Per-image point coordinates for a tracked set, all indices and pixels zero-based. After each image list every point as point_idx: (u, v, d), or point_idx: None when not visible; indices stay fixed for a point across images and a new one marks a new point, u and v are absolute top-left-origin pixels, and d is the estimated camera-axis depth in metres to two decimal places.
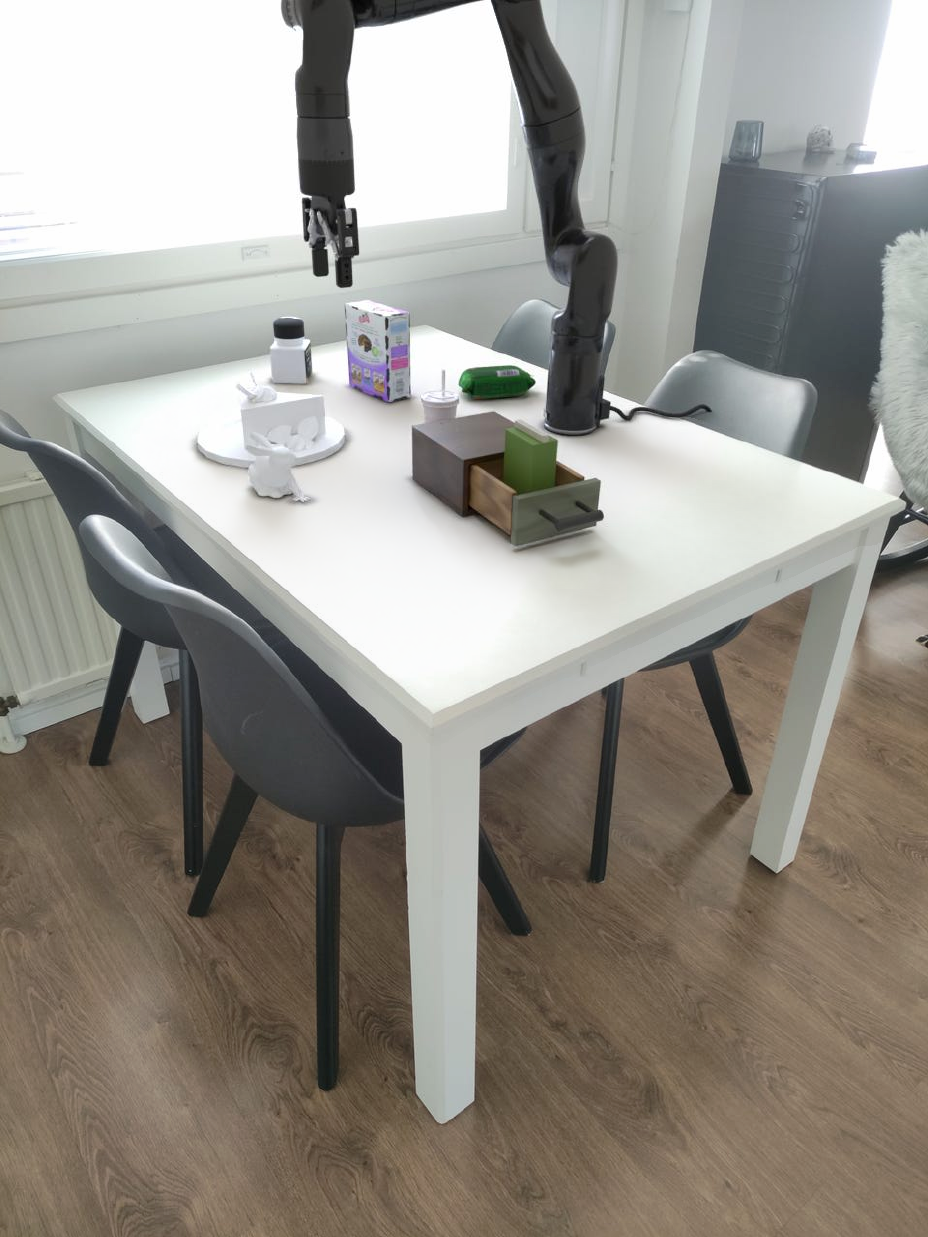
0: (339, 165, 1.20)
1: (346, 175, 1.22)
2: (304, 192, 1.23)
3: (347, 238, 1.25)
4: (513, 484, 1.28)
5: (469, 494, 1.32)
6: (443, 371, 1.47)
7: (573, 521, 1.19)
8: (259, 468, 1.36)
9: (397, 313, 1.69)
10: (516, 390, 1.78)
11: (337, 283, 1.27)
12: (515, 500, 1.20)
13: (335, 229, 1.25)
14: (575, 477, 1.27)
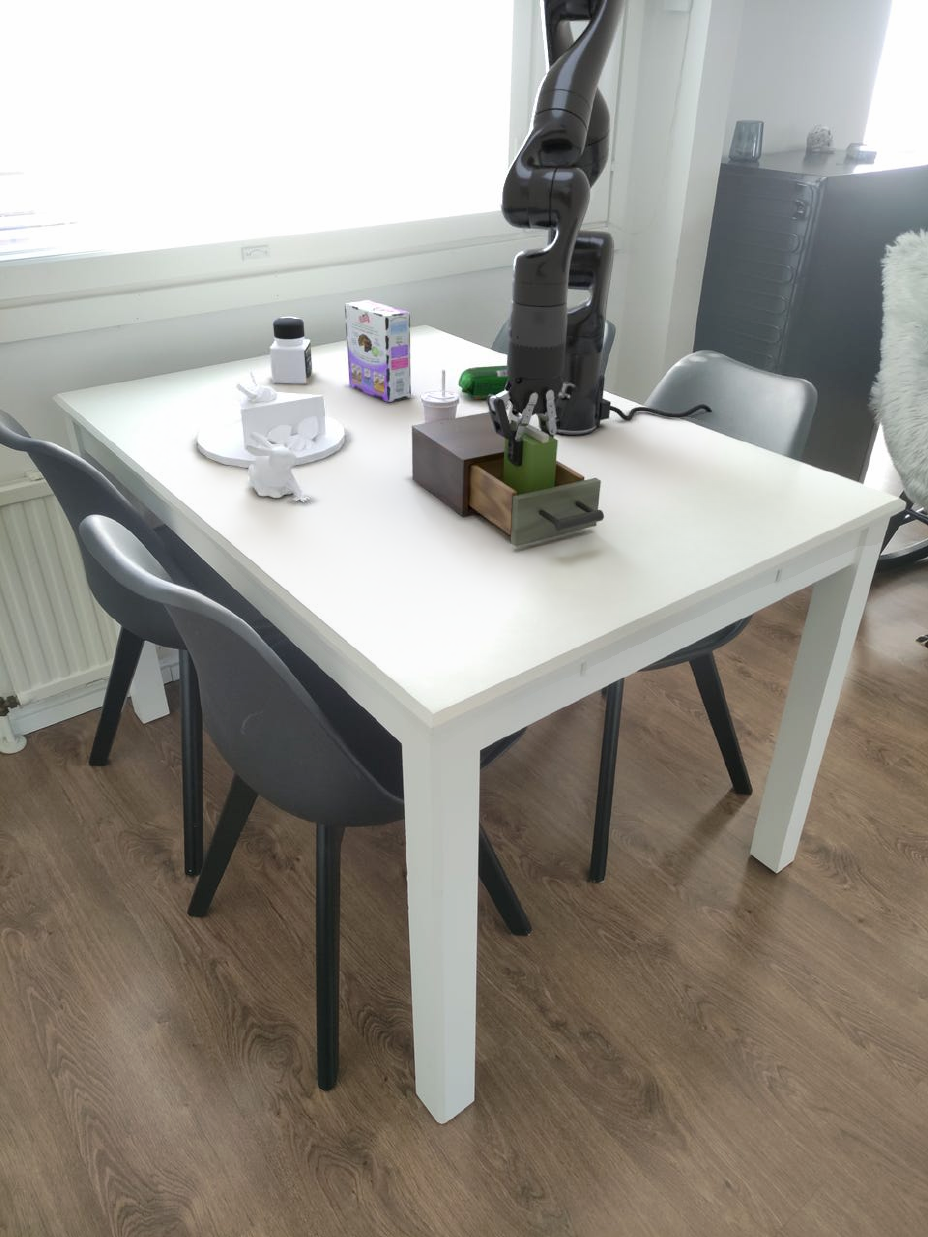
0: (514, 348, 1.17)
1: (519, 359, 1.17)
2: None
3: (518, 422, 1.22)
4: (513, 484, 1.28)
5: (469, 494, 1.32)
6: (443, 371, 1.47)
7: (573, 521, 1.19)
8: (259, 468, 1.36)
9: (397, 313, 1.69)
10: None
11: None
12: (515, 500, 1.20)
13: (514, 406, 1.22)
14: (575, 477, 1.27)
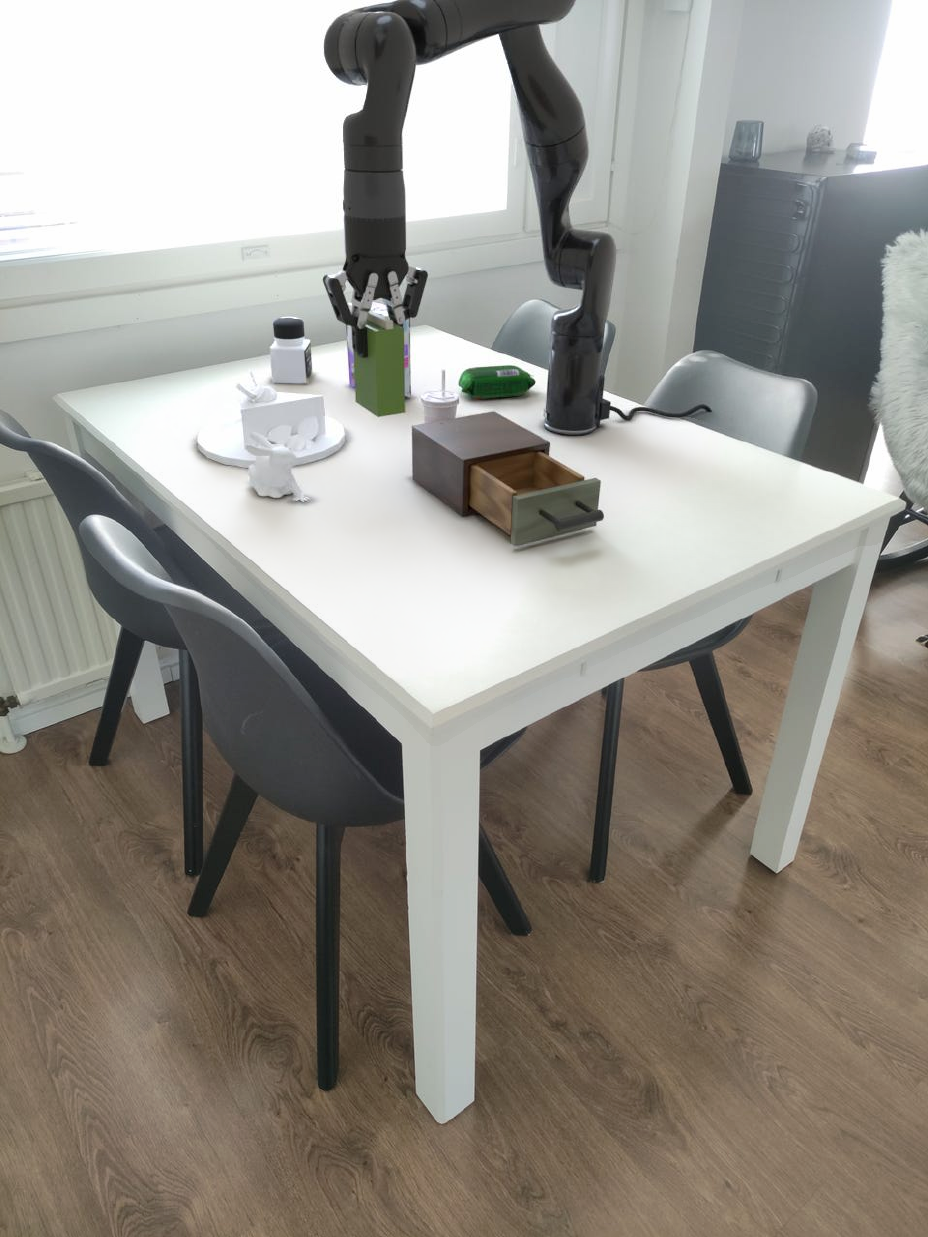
0: (347, 221, 1.08)
1: (353, 233, 1.08)
2: None
3: (359, 307, 1.13)
4: (363, 380, 1.20)
5: (469, 494, 1.32)
6: (443, 371, 1.47)
7: (573, 521, 1.19)
8: (259, 468, 1.36)
9: None
10: (516, 390, 1.78)
11: None
12: (515, 500, 1.20)
13: (354, 289, 1.13)
14: (575, 477, 1.27)
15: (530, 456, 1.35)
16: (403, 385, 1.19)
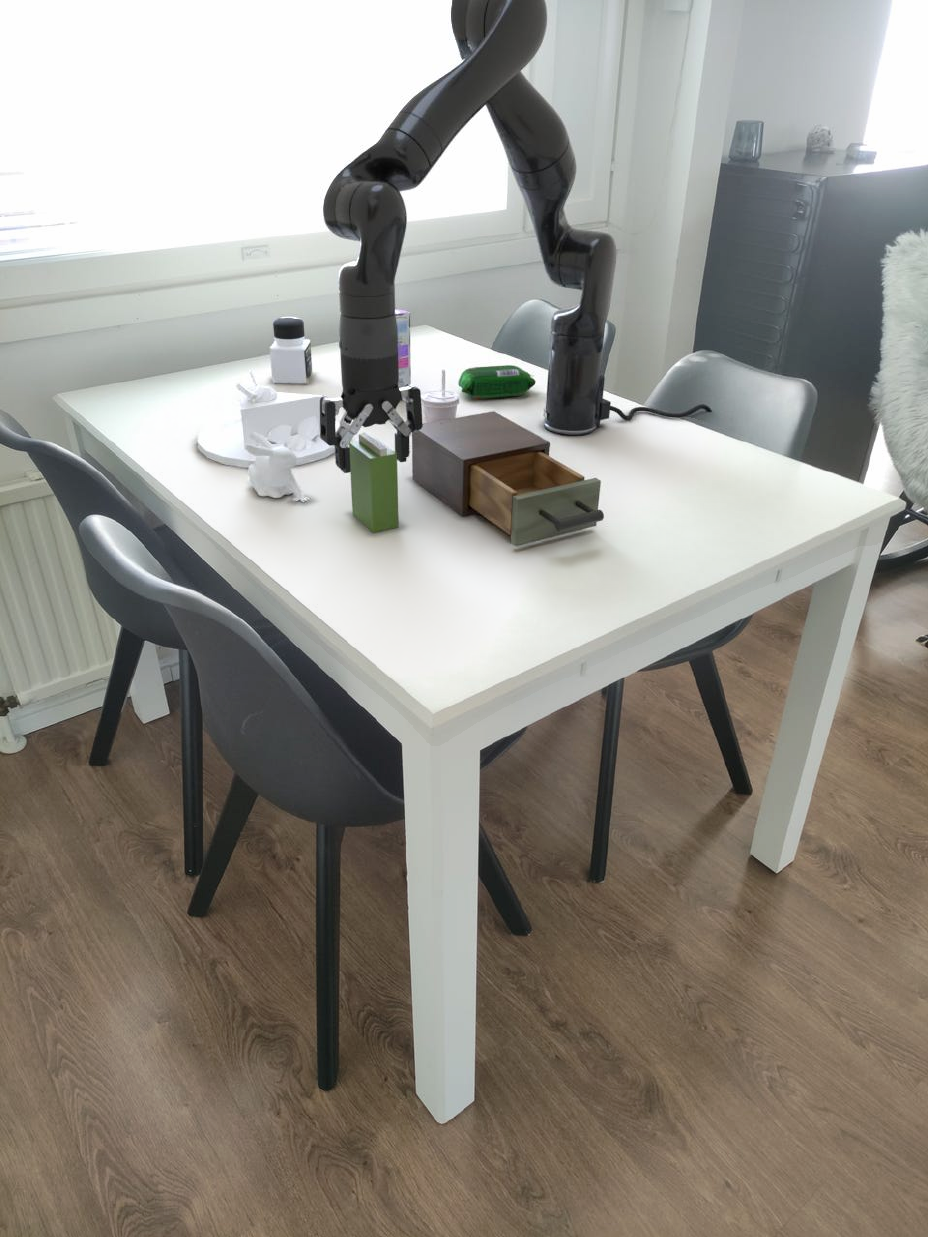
0: (344, 359, 1.17)
1: (349, 371, 1.17)
2: None
3: (346, 428, 1.21)
4: (359, 497, 1.29)
5: (469, 494, 1.32)
6: (443, 371, 1.47)
7: (573, 521, 1.19)
8: (259, 468, 1.36)
9: (397, 313, 1.69)
10: (515, 390, 1.78)
11: None
12: (515, 500, 1.20)
13: (351, 417, 1.22)
14: (575, 477, 1.27)
15: (530, 456, 1.35)
16: (396, 503, 1.27)
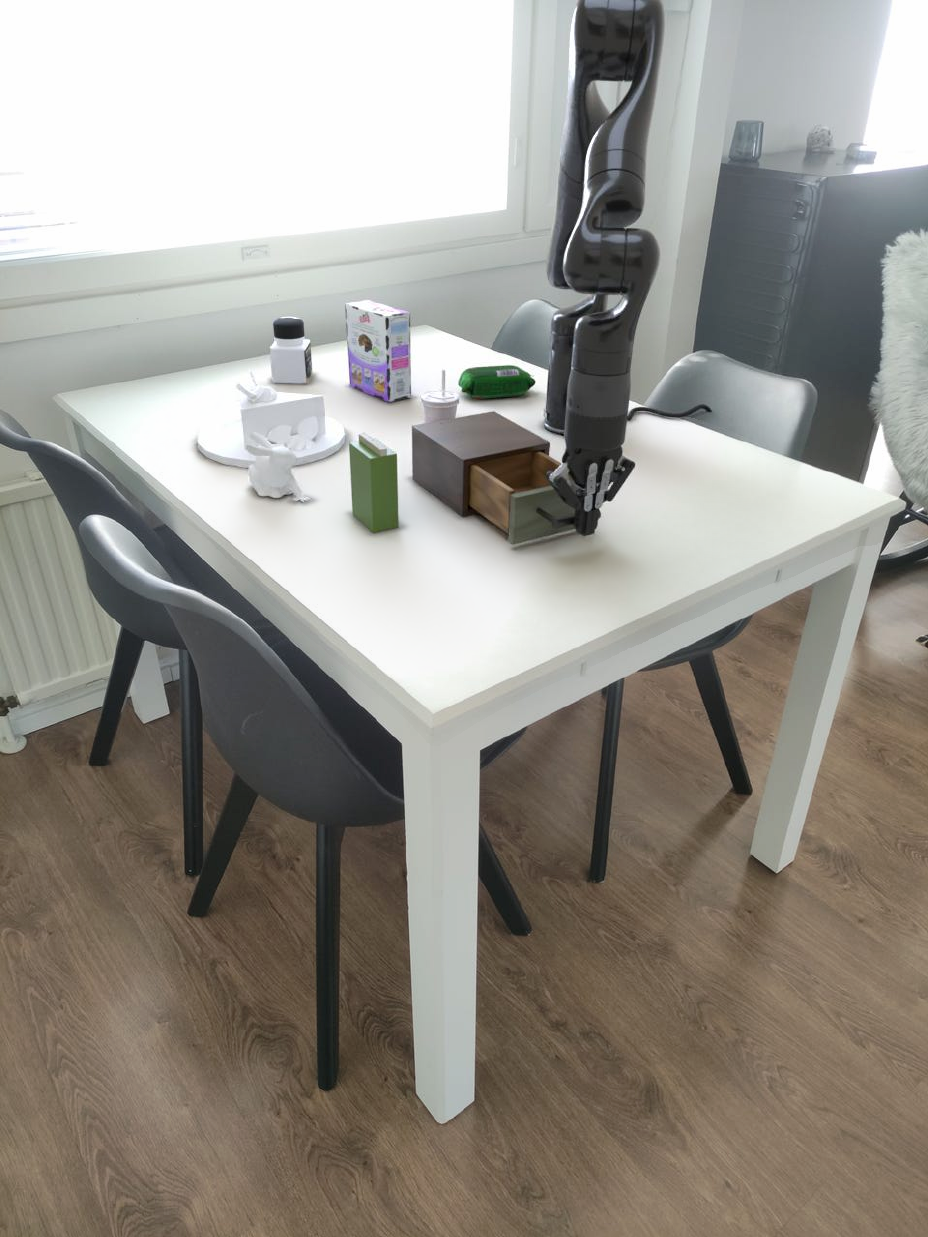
0: (573, 417, 1.09)
1: (579, 429, 1.09)
2: None
3: (583, 493, 1.15)
4: (359, 497, 1.29)
5: None
6: (443, 371, 1.47)
7: (570, 519, 1.19)
8: (259, 468, 1.36)
9: (397, 313, 1.69)
10: (515, 390, 1.78)
11: None
12: (512, 498, 1.20)
13: (571, 476, 1.15)
14: None
15: (528, 455, 1.35)
16: (396, 503, 1.27)
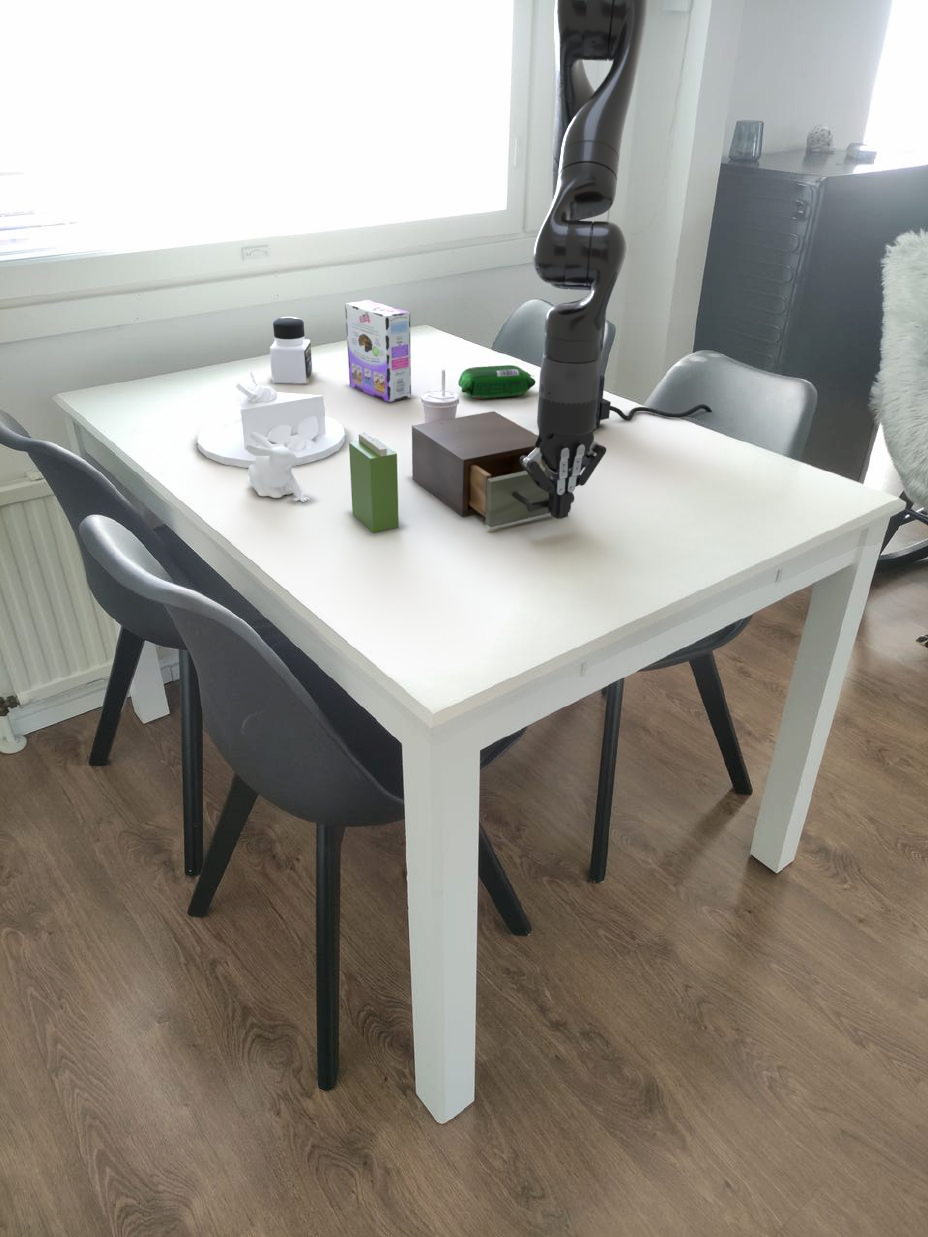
0: (545, 403, 1.14)
1: (551, 415, 1.14)
2: None
3: (556, 477, 1.20)
4: (359, 497, 1.29)
5: None
6: (443, 371, 1.47)
7: (545, 502, 1.24)
8: (259, 468, 1.36)
9: (398, 313, 1.69)
10: (515, 390, 1.78)
11: None
12: (489, 482, 1.25)
13: (544, 460, 1.19)
14: None
15: None
16: (396, 503, 1.27)
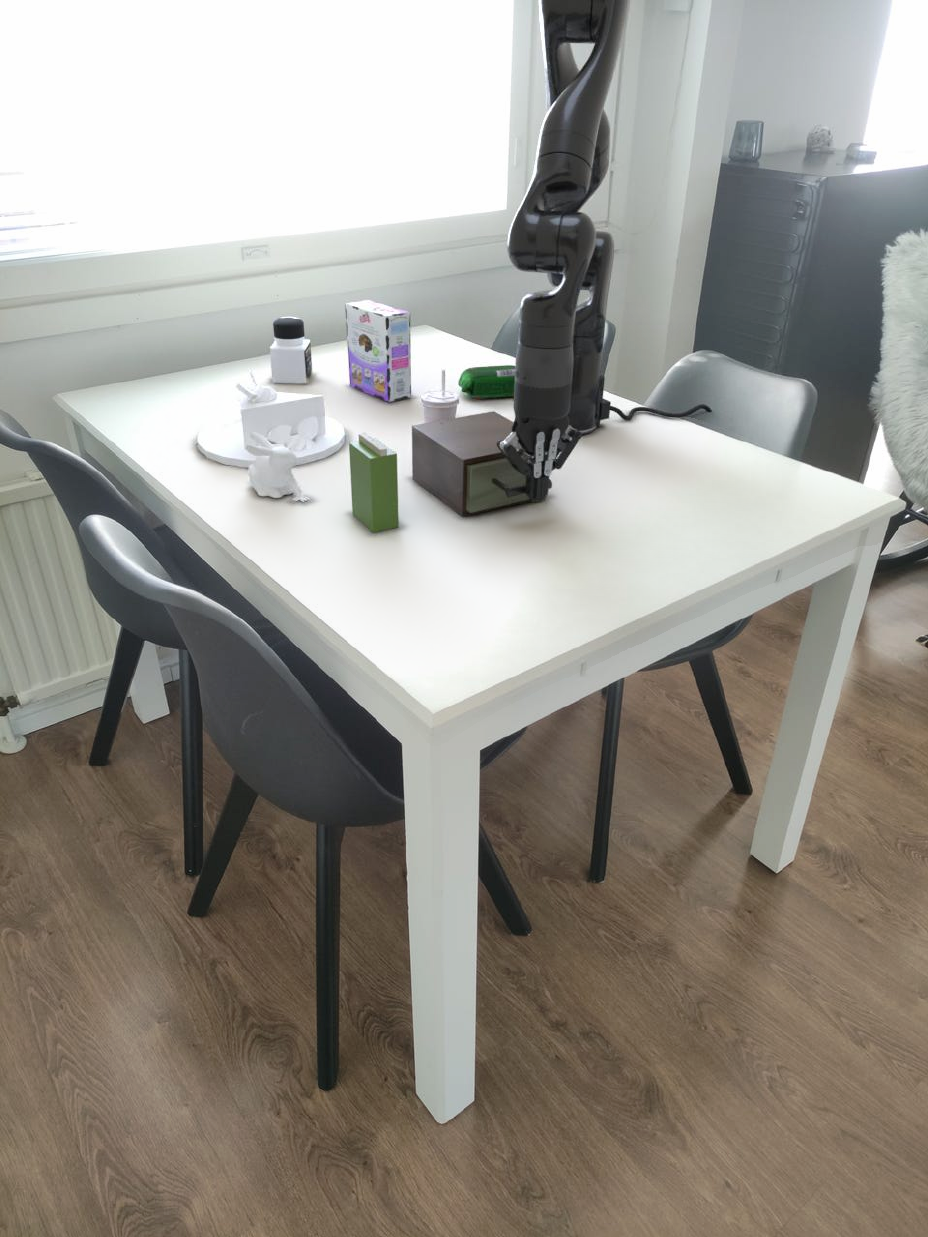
0: (521, 388, 1.18)
1: (526, 399, 1.18)
2: None
3: (532, 461, 1.23)
4: (359, 497, 1.29)
5: None
6: (443, 371, 1.47)
7: (523, 488, 1.28)
8: (259, 468, 1.36)
9: (398, 313, 1.69)
10: None
11: None
12: (469, 469, 1.28)
13: (520, 444, 1.23)
14: None
15: None
16: (396, 503, 1.27)
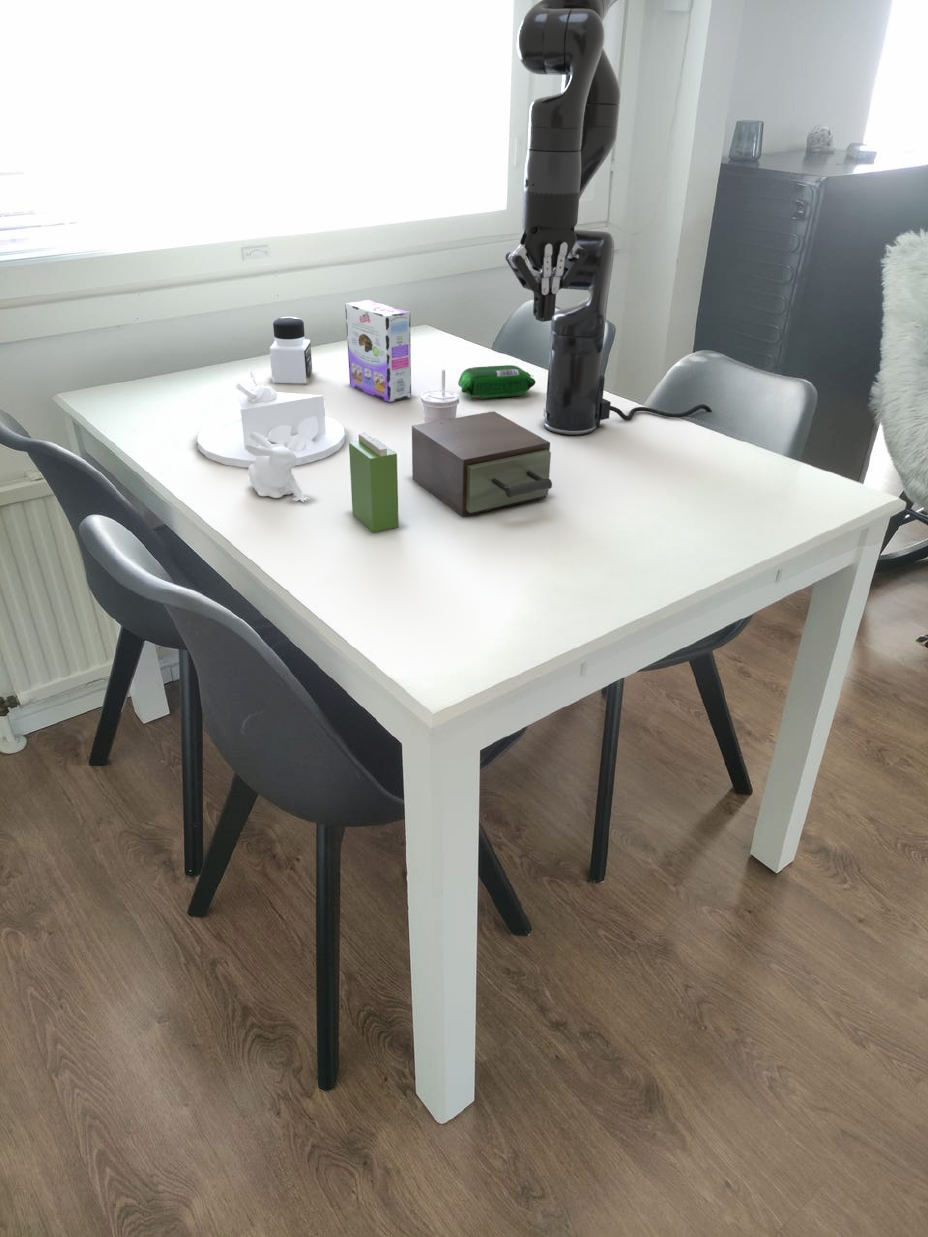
0: (529, 196, 1.21)
1: (534, 207, 1.21)
2: None
3: (540, 276, 1.26)
4: (359, 497, 1.29)
5: None
6: (443, 371, 1.47)
7: (523, 488, 1.28)
8: (259, 468, 1.36)
9: (398, 313, 1.69)
10: (515, 390, 1.78)
11: None
12: (469, 469, 1.28)
13: (529, 259, 1.26)
14: None
15: None
16: (396, 503, 1.27)
